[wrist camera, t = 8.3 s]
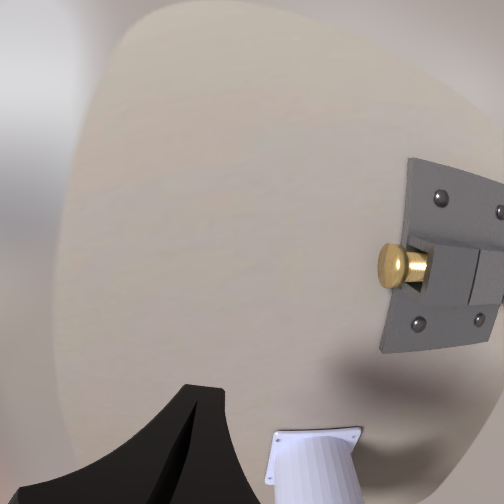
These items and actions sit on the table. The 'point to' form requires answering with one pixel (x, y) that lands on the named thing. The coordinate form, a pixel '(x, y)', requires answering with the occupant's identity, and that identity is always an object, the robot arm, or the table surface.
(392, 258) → the pin
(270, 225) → the table surface
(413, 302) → the hinge
